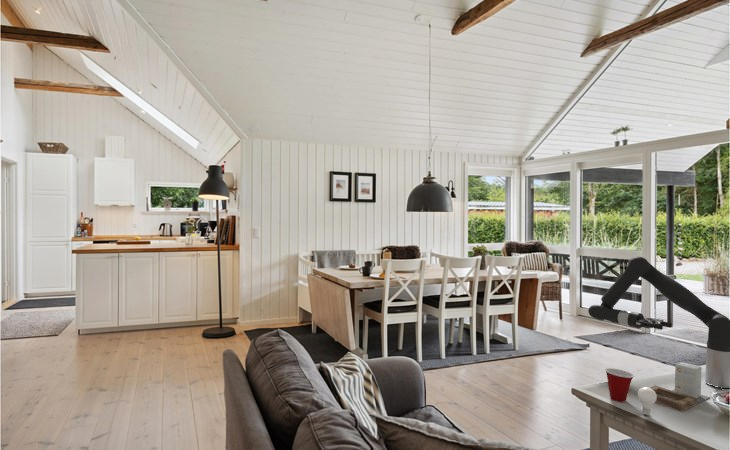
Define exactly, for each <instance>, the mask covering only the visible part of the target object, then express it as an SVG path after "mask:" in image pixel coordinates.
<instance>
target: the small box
mask: <svg viewBox="0 0 730 450" xmlns="http://www.w3.org/2000/svg"><path fill="white" fill-rule="evenodd" d="M674 369H675V370H674V371H675V374H674V376H675V377H674V389H675V392H678V393H681V394H684V395H688V396H691V397H694V398H698V397H700V396H701V395H702V366H700V365H696V364H691V363H687V362H682V361H680V362H678V363H675V368H674Z"/></svg>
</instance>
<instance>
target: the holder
mask: <svg viewBox="0 0 730 450" xmlns="http://www.w3.org/2000/svg"><path fill="white" fill-rule="evenodd" d="M649 388H651V389H653V390H654V391H655V393H656V395H657V400H656V402H655V403H656V404H659V405H662V406H665V407H668V408H670V409H674V410H676V411H679V412H683V411H685V410H687V409H690V408H691V407H694V406H696V405H697V398H694V397H691V396H688V395H684V394H681V393H678V392H675V391H672V390H673V389H672V390H671V389H669V388H666V387H662V386H659V385H653V386H650V387H649Z"/></svg>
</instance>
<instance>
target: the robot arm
mask: <svg viewBox="0 0 730 450" xmlns="http://www.w3.org/2000/svg"><path fill="white" fill-rule="evenodd" d="M640 278H642V279H644V280H645V281H647V282H648V283H649V284H650V285H652V286H653V287H654V288H655V289H656V291H658V292H660V294H661V295H663V297H665V298H666V299H668V300H669V301H670V302H672V303H673V304H674V305H676V306H677V307H679V308H680V309H683V310H684V311H686V312H688V313H690V314H692V315H694V316H695V317H696V318H697V319H698V320H699V321H701V322H702V323H703V324H704V325H705V326H706V327H707V328H708V332H707V333H708V334H707V341H706V353H705V355H706V357H705V358H706V359H705V360H706V361H705V375H704V376H705V379H704V381H705V382H706V383H709V384H712V385H714V386H718V387H722V388H729V389H730V319H729V317H727V316H725V315H724V314H722V313H720V312H718V311H717V310H715V309H714V308H712V307H710V306H709V305H707V304H706V303H705V302H703V301H702V300H701V299H700V298H699V297H698V296H697V295H695V293H694V292H692V291H691V290H689V289H688V288H686V287H685V286H683V284H681V283H680V282H678V281H676V280H675V279H674V278H672V277H670V276H668V275H666V274H664V273H663V272H661V271H660V270H659V269H657V268H656V267H655V266H653V265H652V264H651V263H650V262H649V261H648V259H646V258H645V257H642V256H640V255H639V256H633V257H631V258H630V259H629V260H628V262H627V266H626V269H625V270H624V272H623V273H622V274H621V276H620V277H619V278H618V279H617V280H616V281H615V282H614V283H613V284H612V285H611V286H610V287H609V288H608V289H607V291H606V292H605V293H603V295H602V296H601V299H600V301H601V304H593V305H590V306H589V308H588V310H587V311H588V315H589V316H590V317H592V318H593V319H595V320H597V321H601V322H602V321H609V322H611V323H613V324H618V325H622V326H625V327H630V328H634V329H641V328H643V329H644V328H645V329H648V330H649V329H655V330H656V329H657V330H661V331H662V330H663V328H672V322H669V321H664V319H659V318H653V317H646V318H645V316H644V315H643V313H640V312H634V311H631V310H621V309H615V308H614V307H615V305H617V303H618V302H619V301H620V300H621V299H622V298H623V296H624V295H625V294H626V293H627V291H628V290H629V288H630V287H631V286H632V285H633V284H634V283H635V282H636V281H637V280H638V279H640ZM705 382H704V383H705ZM706 383H705V384H706ZM722 388H721V389H722Z"/></svg>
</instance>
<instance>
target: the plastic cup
mask: <svg viewBox="0 0 730 450" xmlns="http://www.w3.org/2000/svg"><path fill="white" fill-rule="evenodd" d="M605 372H606V378H607V385H608V387H607V388H608V390H609V391H608V393H609V397H610V399H611V400H612V401H615V402H620V403H625V402H626V401H627V398H628V395H629V390H630V387H631V383H632V381H633V379H634V378H635V374H634V373H631V372H629V371H626V370H622V369H618V368H611V367H609V368H608V367H606V368H605Z"/></svg>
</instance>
